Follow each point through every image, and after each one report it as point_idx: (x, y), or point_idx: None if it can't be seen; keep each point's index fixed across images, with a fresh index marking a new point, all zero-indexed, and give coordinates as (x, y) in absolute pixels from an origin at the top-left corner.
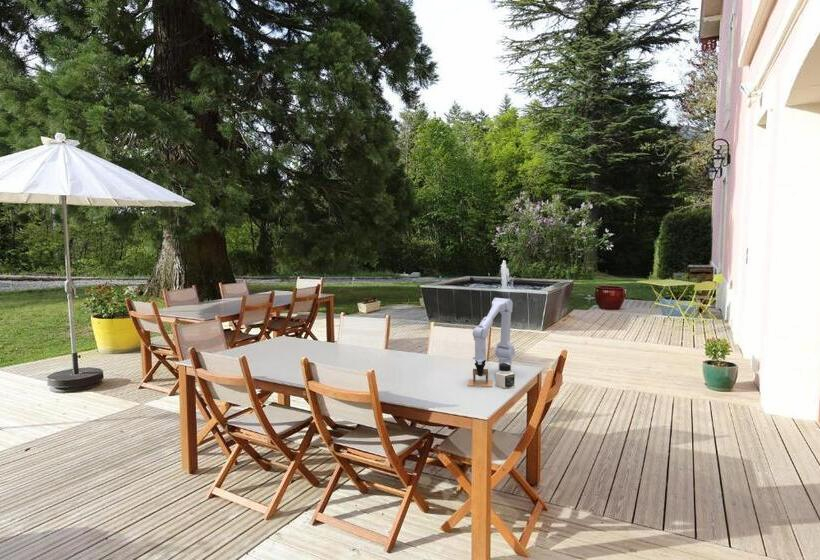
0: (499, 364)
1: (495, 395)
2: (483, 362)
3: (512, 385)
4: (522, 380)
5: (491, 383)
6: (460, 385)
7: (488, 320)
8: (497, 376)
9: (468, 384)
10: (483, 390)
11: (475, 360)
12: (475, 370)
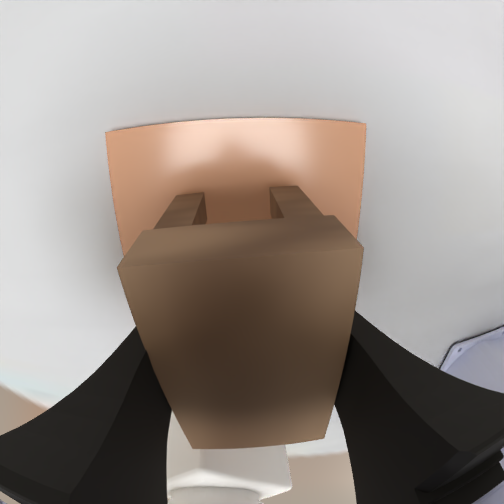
0: (496, 390)
1: (15, 358)
2: (364, 499)
3: None
4: (338, 443)
5: None
6: (131, 47)
7: None
8: (184, 452)
9: (134, 137)
10: (50, 298)
11: (482, 452)
12: (203, 316)
